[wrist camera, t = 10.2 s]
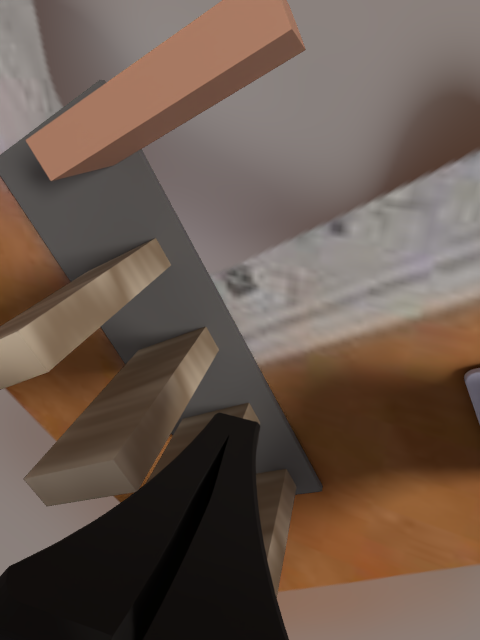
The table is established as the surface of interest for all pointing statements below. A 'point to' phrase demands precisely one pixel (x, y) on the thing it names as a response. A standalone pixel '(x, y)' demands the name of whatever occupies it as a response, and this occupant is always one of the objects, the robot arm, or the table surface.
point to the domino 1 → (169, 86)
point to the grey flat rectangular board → (152, 283)
